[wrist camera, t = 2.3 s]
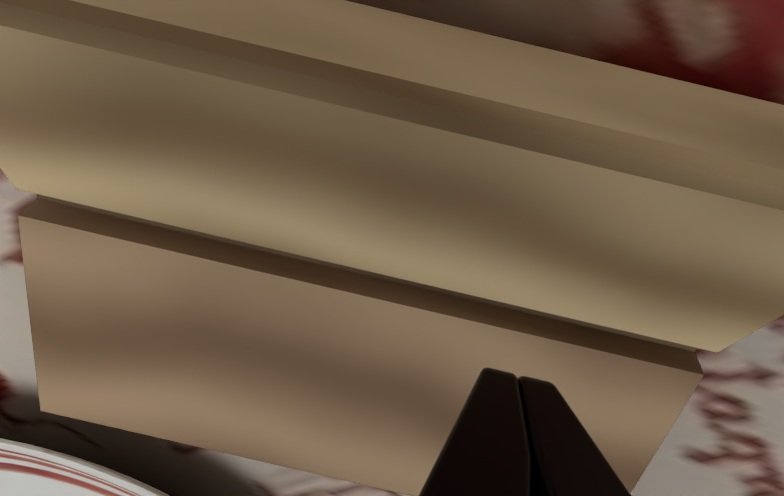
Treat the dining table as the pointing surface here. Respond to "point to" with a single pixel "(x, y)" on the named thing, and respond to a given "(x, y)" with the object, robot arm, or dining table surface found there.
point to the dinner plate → (61, 475)
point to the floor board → (308, 351)
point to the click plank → (408, 154)
